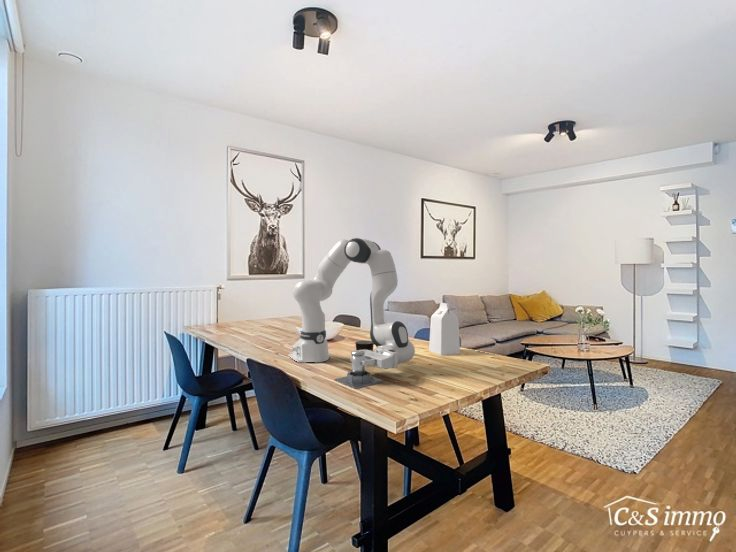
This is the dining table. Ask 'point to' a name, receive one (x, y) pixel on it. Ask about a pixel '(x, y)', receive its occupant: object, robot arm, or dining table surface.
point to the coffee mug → (364, 345)
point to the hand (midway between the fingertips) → (357, 361)
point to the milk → (444, 332)
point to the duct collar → (359, 380)
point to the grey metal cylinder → (358, 363)
